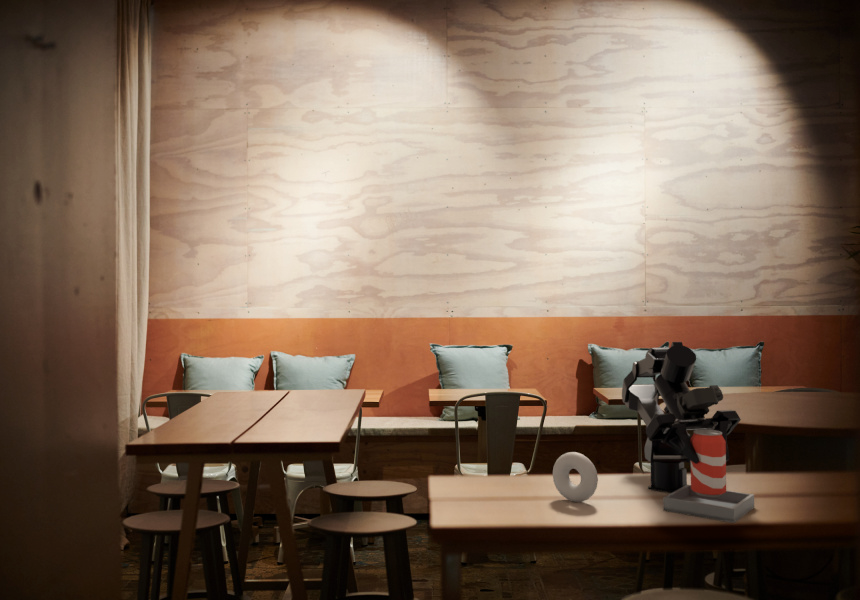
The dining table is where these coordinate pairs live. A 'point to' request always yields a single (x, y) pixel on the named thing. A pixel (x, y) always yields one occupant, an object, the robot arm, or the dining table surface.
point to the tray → (709, 504)
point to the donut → (586, 472)
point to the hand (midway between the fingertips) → (712, 461)
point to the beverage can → (709, 463)
